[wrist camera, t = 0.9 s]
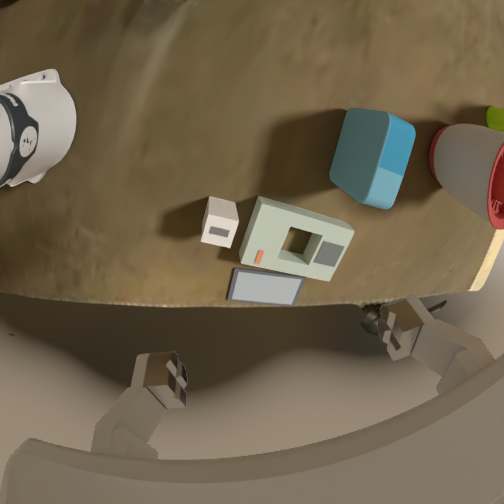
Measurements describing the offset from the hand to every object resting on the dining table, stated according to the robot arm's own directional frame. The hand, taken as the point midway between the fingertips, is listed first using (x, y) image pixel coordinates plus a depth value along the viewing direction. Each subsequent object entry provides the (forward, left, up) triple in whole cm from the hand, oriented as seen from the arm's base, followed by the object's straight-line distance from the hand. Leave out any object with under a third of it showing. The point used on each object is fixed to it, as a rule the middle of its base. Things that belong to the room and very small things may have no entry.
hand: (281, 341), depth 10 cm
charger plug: (0, -8, -32) cm, 33 cm away
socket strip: (+13, -9, -32) cm, 36 cm away
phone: (+12, -20, -33) cm, 40 cm away
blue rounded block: (+16, +8, -33) cm, 37 cm away
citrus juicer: (+38, +16, -33) cm, 53 cm away
